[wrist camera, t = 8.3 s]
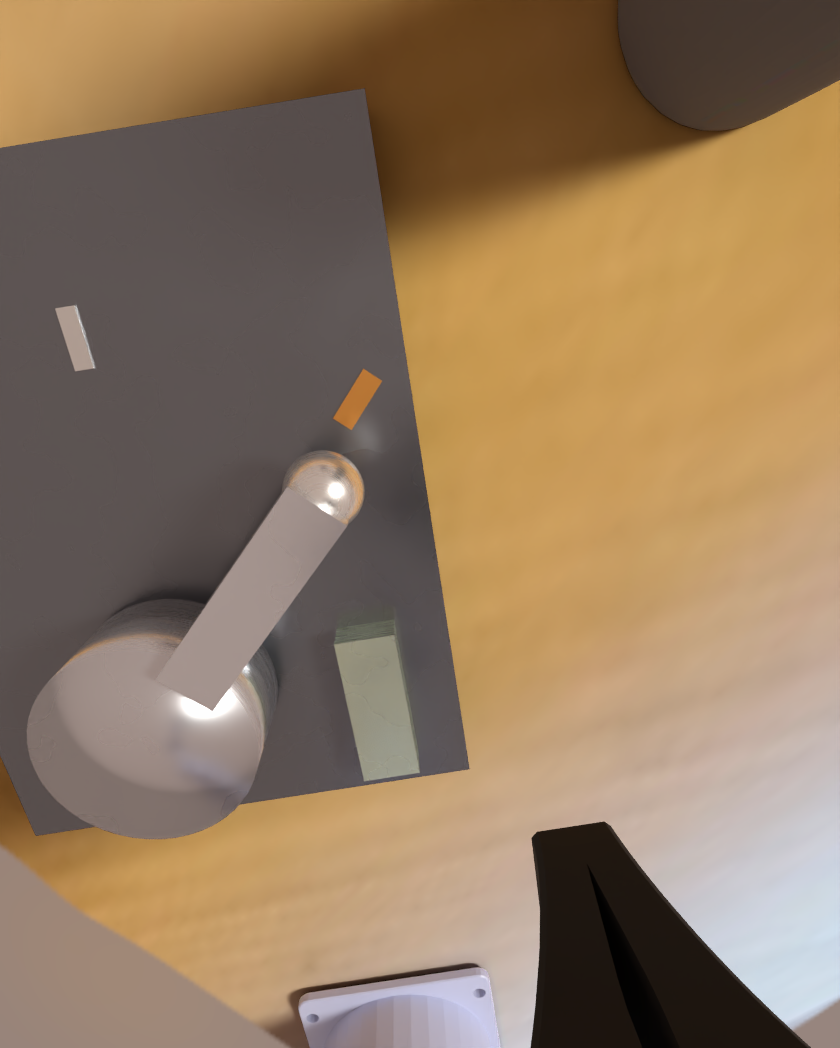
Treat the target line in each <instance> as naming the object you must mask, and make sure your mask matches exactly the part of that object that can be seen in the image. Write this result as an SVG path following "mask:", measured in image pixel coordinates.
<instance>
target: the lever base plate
mask: <svg viewBox="0 0 840 1048" xmlns="http://www.w3.org/2000/svg"><path fill="white" fill-rule="evenodd" d="M320 450H327V451H333V452H336V453H339V454H341V455H343V456H345V457H346V458H348V459H349V460H350V461H351V462H352V463H353V464H354V465H355V466H356V467H357V469H358V470H359V472H360V474H361V476H362V479H363V482H364V489H365V493H364V501H363V504H362V507H361V509H360V511H359V513H358V514H357V516H356V517H355V518H354V519H353V520H352V521H351V522H350V523H349V524H348V525H347V527H346V528H345V530H344V531H343V533H342V534H341V535H340V537H339V538H338V539H337V541H336V542H335V544H334V545H333V546H332V548H331V549H330V550H329V552H328V553H327V555H326V556H325V557H324V559H323V560H322V562H321V563H320V564H319V566H318V567H317V568H316V570H315V571H314V573H313V574H312V575H311V577H310V578H309V579H308V581H307V582H306V584H305V585H304V586H303V588H302V589H301V590H300V592H299V593H298V595H297V596H296V597H295V599H294V600H293V602H292V603H291V604H290V606H289V607H288V608H287V610H286V611H285V613H284V614H283V615H282V617H281V618H280V619H279V621H278V622H277V624H276V625H275V626H274V628H273V629H272V631H271V632H270V633H269V635H268V636H267V637H266V639H265V640H264V642H263V643H262V645H263V646H264V648H265V649H266V651H267V653H268V654H269V656H270V658H271V660H272V663H273V666H274V669H275V672H276V677H277V684H278V696H277V704H276V708H275V711H274V715H273V718H272V721H271V725H270V728H269V732H268V735H267V738H266V742H265V745H264V748H263V752H262V755H261V758H260V762H259V765H258V768H257V772H256V775H255V778H254V781H253V783H252V786H251V788H250V790H249V792H248V793H247V795H246V796H245V798H244V799H243V801H242V802H241V803H240V804H246V803H252V802H259V801H265V800H272V799H278V798H285V797H291V796H298V795H304V794H311V793H317V792H324V791H330V790H337V789H343V788H350V787H356V786H363V785H369V784H376V783H383V782H389V781H396V780H402V779H409V778H415V777H422V776H428V775H435V774H441V773H448V772H454V771H461V770H467V769H469V763H468V756H467V750H466V743H465V737H464V730H463V724H462V717H461V711H460V704H459V698H458V691H457V685H456V678H455V672H454V665H453V659H452V652H451V646H450V639H449V633H448V626H447V620H446V613H445V607H444V600H443V594H442V587H441V581H440V574H439V568H438V561H437V555H436V549H435V542H434V536H433V529H432V523H431V516H430V510H429V503H428V497H427V490H426V484H425V477H424V471H423V464H422V458H421V451H420V445H419V438H418V432H417V425H416V419H415V412H414V406H413V399H412V393H411V386H410V380H409V373H408V367H407V360H406V354H405V347H404V341H403V334H402V328H401V321H400V315H399V308H398V302H397V295H396V289H395V282H394V276H393V269H392V263H391V256H390V250H389V243H388V237H387V230H386V224H385V217H384V211H383V204H382V198H381V191H380V185H379V178H378V172H377V165H376V159H375V152H374V146H373V139H372V133H371V126H370V120H369V114H368V107H367V101H366V94H365V88H364V89H358V90H352V91H346V92H340V93H333V94H327V95H321V96H315V97H309V98H303V99H297V100H291V101H285V102H278V103H272V104H266V105H260V106H254V107H248V108H242V109H236V110H229V111H223V112H217V113H211V114H205V115H199V116H193V117H187V118H181V119H174V120H168V121H162V122H156V123H150V124H144V125H138V126H132V127H126V128H119V129H113V130H107V131H101V132H95V133H89V134H83V135H77V136H71V137H64V138H58V139H52V140H46V141H40V142H34V143H28V144H22V145H16V146H9V147H3V148H0V756H1V758H2V761H3V763H4V765H5V767H6V770H7V772H8V774H9V776H10V779H11V781H12V783H13V785H14V788H15V790H16V792H17V795H18V797H19V799H20V801H21V804H22V806H23V808H24V810H25V813H26V815H27V817H28V819H29V822H30V824H31V826H32V828H33V831H34V833H35V835H36V836H38V835H44V834H51V833H57V832H64V831H70V830H77V829H83V828H90V827H95V826H93V825H91V824H89V823H87V822H85V821H84V820H82V819H80V818H78V817H77V816H75V815H74V814H73V813H71V812H70V811H68V810H67V809H66V808H65V807H63V806H62V805H61V804H60V803H59V802H58V801H57V800H56V799H55V798H54V797H53V796H52V795H51V794H50V793H49V792H48V790H47V789H46V788H45V786H44V785H43V783H42V782H41V780H40V779H39V777H38V775H37V773H36V771H35V769H34V767H33V764H32V761H31V759H30V756H29V751H28V745H27V725H28V718H29V715H30V712H31V709H32V706H33V704H34V702H35V700H36V698H37V696H38V694H39V693H40V692H41V690H42V689H43V688H44V686H45V685H46V684H47V683H48V682H49V681H50V680H51V679H52V677H53V676H54V675H55V674H56V673H57V672H58V671H59V670H60V669H61V668H62V667H63V666H64V665H65V664H66V663H67V661H68V660H69V659H70V658H71V657H72V656H73V655H74V654H75V653H76V652H77V651H78V650H79V649H80V648H81V647H82V646H83V644H84V643H85V642H86V641H87V640H88V639H89V638H90V637H91V636H92V635H93V634H94V633H95V632H96V631H97V630H98V629H99V628H100V627H101V626H102V625H103V624H104V623H105V622H106V621H107V620H108V619H109V618H111V617H112V616H114V615H115V614H116V613H118V612H120V611H122V610H124V609H126V608H128V607H130V606H133V605H136V604H139V603H142V602H147V601H151V600H160V599H182V600H189V601H195V602H199V603H203V604H206V603H207V601H208V600H209V598H210V597H211V595H212V594H213V592H214V591H215V589H216V588H217V587H218V585H219V584H220V582H221V581H222V579H223V578H224V576H225V575H226V573H227V572H228V570H229V569H230V567H231V566H232V565H233V563H234V562H235V560H236V559H237V557H238V556H239V554H240V553H241V551H242V550H243V548H244V547H245V546H246V544H247V543H248V541H249V540H250V538H251V537H252V535H253V534H254V532H255V531H256V529H257V528H258V526H259V525H260V524H261V522H262V521H263V519H264V518H265V516H266V515H267V513H268V512H269V510H270V509H271V507H272V506H273V505H274V503H275V502H276V500H277V499H278V497H279V496H280V494H281V493H282V484H283V480H284V477H285V474H286V472H287V471H288V469H289V467H290V466H291V465H292V464H293V463H294V462H295V461H296V460H297V459H298V458H300V457H301V456H303V455H305V454H307V453H310V452H313V451H320Z"/></svg>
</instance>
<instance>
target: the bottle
mask: <svg viewBox="0 0 840 1048" xmlns="http://www.w3.org/2000/svg"><path fill="white" fill-rule="evenodd" d="M618 32H619V38H620V44H621V48H622V51H623V55H624V58H625V61H626V64H627V67H628V70H629V72H630V74H631V76H632V78H633V81H634V82H635V84H636V85H637V87H638V89H639V90H640V92H641V93H642V95H643V96H644V97H645V98H646V99H647V100H648V101H649V102H650V103H651V104H652V105H653V106H654V107H655V108H656V109H657V110H658V111H659V112H660V113H661V114H663V115H665V116H666V117H668V118H670V119H672V120H673V121H675V122H677V123H678V124H681V125H684V126H687V127H691V128H695V129H698V130H714V131H722V130H728V129H735V128H740V127H743V126H746V125H748V124H751V123H754V122H756V121H759V120H761V119H764V118H766V117H768V116H770V115H772V114H774V113H776V112H778V111H780V110H782V109H784V108H786V107H788V106H790V105H792V104H794V103H796V102H798V101H800V100H802V99H804V98H806V97H808V96H810V95H812V94H814V93H816V92H818V91H820V90H822V89H823V88H825V87H827V86H829V85H831V84H833V83H835V82H837V81H839V80H840V0H618Z"/></svg>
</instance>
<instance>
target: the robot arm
mask: <svg viewBox="0 0 840 1048" xmlns="http://www.w3.org/2000/svg"><path fill="white" fill-rule="evenodd" d="M532 846H533V854H534V862H535V871H536V879H537V887H538V895H539V904H540V951H539V967H538V980H537V993H536V1006H535V1015H534V1024H533V1033H532V1041H531V1048H811V1047H810V1046H808V1045H807V1044H806V1043H805V1042H804V1041H803V1040H802V1039H801V1038H800V1037H798V1036H797V1035H796V1034H795V1033H794V1032H793V1031H792V1030H791V1029H790V1028H789V1027H788V1026H787V1025H786V1024H785V1023H784V1022H783V1021H781V1020H780V1019H779V1018H778V1017H777V1016H776V1015H775V1014H774V1013H773V1012H772V1011H771V1010H770V1009H769V1008H768V1007H767V1006H766V1005H765V1004H764V1003H763V1002H762V1001H761V1000H760V999H759V998H757V997H756V996H755V995H754V994H753V993H752V992H751V991H750V990H749V989H748V988H747V987H746V986H745V985H744V984H743V983H742V982H741V981H740V979H739V978H738V977H737V976H736V975H735V974H734V973H733V972H732V971H731V970H730V969H729V968H728V967H727V966H726V965H725V964H724V963H723V962H722V961H721V960H720V959H719V958H718V957H717V955H716V954H715V953H714V952H713V951H712V950H711V949H710V948H709V947H708V946H707V945H706V944H705V943H704V941H703V940H702V939H701V938H700V937H699V936H698V935H697V934H696V933H695V931H694V930H693V929H692V928H691V927H690V926H689V925H688V923H687V922H686V921H685V920H684V919H683V918H682V917H681V915H680V914H679V913H678V912H677V911H676V910H675V909H674V907H673V906H672V905H671V904H670V903H669V902H668V900H667V899H666V898H665V897H664V896H663V894H662V893H661V892H660V891H659V890H658V888H657V887H656V886H655V885H654V883H653V882H652V881H651V880H650V878H649V877H648V876H647V875H646V873H645V872H644V871H643V870H642V868H641V867H640V866H639V865H638V863H637V862H636V861H635V859H634V858H633V857H632V855H631V854H630V853H629V851H628V850H627V849H626V847H625V846H624V845H623V843H622V842H621V840H620V839H619V838H618V836H617V835H616V833H615V832H614V830H613V829H612V827H611V826H610V825H608V824H607V823H606V822H599V823H592V824H586V825H579V826H573V827H566V828H560V829H553V830H546V831H540V832H537V833H536V834H535V835H534V836H533V837H532ZM298 1011H299V1014H300V1018H301V1021H302V1024H303V1027H304V1031H305V1034H306V1037H307V1040H308V1044H309V1047H310V1048H501V1047H500V1041H499V1035H498V1029H497V1023H496V1016H495V1010H494V1004H493V998H492V992H491V986H490V980H489V974H488V972H487V971H486V970H485V969H483V968H480V967H475V968H469V969H462V970H455V971H449V972H442V973H435V974H429V975H422V976H416V977H409V978H402V979H396V980H389V981H383V982H376V983H369V984H363V985H356V986H349V987H343V988H336V989H330V990H323V991H316V992H310V993H306V994H304V995H303V996H301V998H300V1000H299V1006H298Z"/></svg>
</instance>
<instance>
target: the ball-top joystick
mask: <svg viewBox="0 0 840 1048" xmlns="http://www.w3.org/2000/svg"><path fill="white" fill-rule="evenodd" d="M364 493H365V489H364V482H363V479H362V476H361V474H360V472H359V470H358V469H357V467H356V466H355V465H354V464H353V463H352V462H351V461H350V460H349V459H348V458H346V457H345V456H343V455H341V454H339V453H336V452H333V451H327V450H320V451H313V452H310V453H307V454H305V455H303V456H301V457H300V458H298V459H297V460H296V461H295V462H294V463H293V464H292V465H291V466H290V467H289V469H288V471H287V472H286V474H285V477H284V480H283V484H282V493H281V494H280V496H279V497H278V499H277V500H276V502H275V503H274V505H273V506H272V507H271V509H270V510H269V512H268V513H267V515H266V516H265V518H264V519H263V521H262V522H261V524H260V525H259V526H258V528H257V529H256V531H255V532H254V534H253V535H252V537H251V538H250V540H249V541H248V543H247V544H246V546H245V547H244V548H243V550H242V551H241V553H240V554H239V556H238V557H237V559H236V560H235V562H234V563H233V565H232V566H231V567H230V569H229V570H228V572H227V573H226V575H225V576H224V578H223V579H222V581H221V582H220V584H219V585H218V587H217V588H216V589H215V591H214V592H213V594H212V595H211V597H210V598H209V600H208V601H207V603H206V604H203V603H199V602H195V601H189V600H182V599H160V600H151V601H147V602H142V603H139V604H136V605H133V606H130V607H128V608H126V609H124V610H122V611H120V612H118V613H116V614H115V615H114V616H112V617H111V618H109V619H108V620H107V621H106V622H105V623H104V624H103V625H102V626H101V627H100V628H99V629H98V630H97V631H96V632H95V633H94V634H93V635H92V636H91V637H90V638H89V639H88V640H87V641H86V642H85V643H84V644H83V646H82V647H81V648H80V649H79V650H78V651H77V652H76V653H75V654H74V655H73V656H72V657H71V658H70V659H69V660H68V661H67V663H66V664H65V665H64V666H63V667H62V668H61V669H60V670H59V671H58V672H57V673H56V674H55V675H54V676H53V677H52V679H51V680H50V681H49V682H48V683H47V684H46V685H45V686H44V688H43V689H42V690H41V692H40V693H39V694H38V696H37V698H36V700H35V702H34V704H33V706H32V709H31V712H30V715H29V718H28V725H27V745H28V751H29V756H30V759H31V761H32V764H33V767H34V769H35V771H36V773H37V775H38V777H39V779H40V780H41V782H42V783H43V785H44V786H45V788H46V789H47V790H48V792H49V793H50V794H51V795H52V796H53V797H54V798H55V799H56V800H57V801H58V802H59V803H60V804H61V805H62V806H63V807H65V808H66V809H67V810H68V811H70V812H71V813H73V814H74V815H75V816H77V817H78V818H80V819H82V820H84V821H85V822H87V823H89V824H91V825H93V826H95V827H98V828H100V829H103V830H105V831H108V832H111V833H115V834H118V835H122V836H127V837H132V838H142V839H167V838H176V837H181V836H186V835H190V834H193V833H196V832H199V831H202V830H204V829H206V828H208V827H210V826H213V825H214V824H216V823H218V822H219V821H221V820H222V819H224V818H225V817H226V816H228V815H229V814H230V813H231V812H232V811H234V810H235V809H236V807H237V806H238V805H239V804H240V803H241V802H242V801H243V799H244V798H245V796H246V795H247V793H248V792H249V790H250V788H251V786H252V783H253V781H254V778H255V775H256V772H257V768H258V765H259V762H260V758H261V755H262V752H263V748H264V745H265V742H266V738H267V735H268V732H269V728H270V725H271V721H272V718H273V715H274V711H275V708H276V704H277V696H278V684H277V677H276V672H275V669H274V666H273V663H272V660H271V658H270V656H269V654H268V653H267V651H266V649H265V648H264V646H263V645H262V643H263V642H264V640H265V639H266V637H267V636H268V635H269V633H270V632H271V631H272V629H273V628H274V626H275V625H276V624H277V622H278V621H279V619H280V618H281V617H282V615H283V614H284V613H285V611H286V610H287V608H288V607H289V606H290V604H291V603H292V602H293V600H294V599H295V597H296V596H297V595H298V593H299V592H300V590H301V589H302V588H303V586H304V585H305V584H306V582H307V581H308V579H309V578H310V577H311V575H312V574H313V573H314V571H315V570H316V568H317V567H318V566H319V564H320V563H321V562H322V560H323V559H324V557H325V556H326V555H327V553H328V552H329V550H330V549H331V548H332V546H333V545H334V544H335V542H336V541H337V539H338V538H339V537H340V535H341V534H342V533H343V531H344V530H345V528H346V527H347V525H348V524H349V523H350V522H351V521H352V520H353V519H354V518H355V517H356V516H357V514H358V513H359V511H360V509H361V507H362V504H363V501H364Z"/></svg>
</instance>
